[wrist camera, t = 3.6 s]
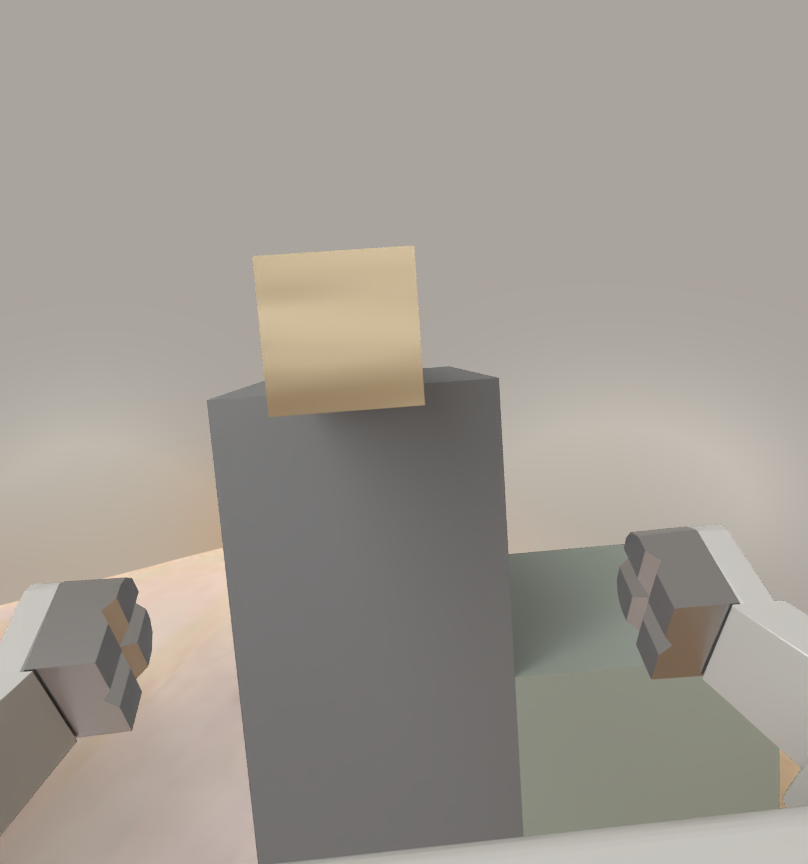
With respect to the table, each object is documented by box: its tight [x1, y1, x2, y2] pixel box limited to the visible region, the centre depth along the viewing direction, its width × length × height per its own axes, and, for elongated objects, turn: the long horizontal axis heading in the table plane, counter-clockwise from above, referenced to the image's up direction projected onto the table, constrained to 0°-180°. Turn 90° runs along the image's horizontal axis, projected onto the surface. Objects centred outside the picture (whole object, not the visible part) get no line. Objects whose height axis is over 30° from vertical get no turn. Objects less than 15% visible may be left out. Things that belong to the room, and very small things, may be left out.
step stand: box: [207, 367, 779, 864], centre depth 32 cm, size 14×20×26 cm
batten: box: [253, 246, 425, 417], centre depth 25 cm, size 20×4×4 cm, turn 4°
